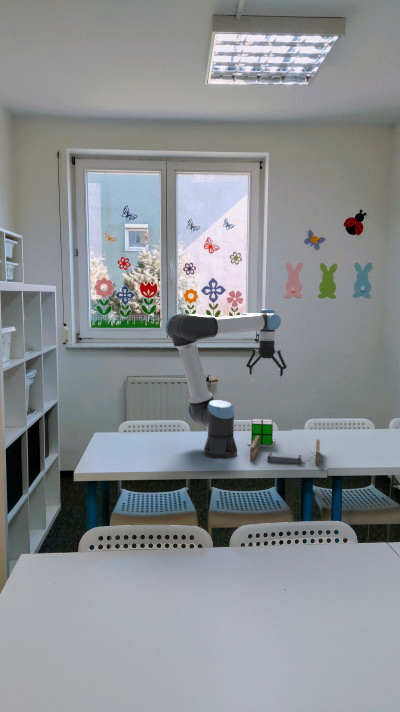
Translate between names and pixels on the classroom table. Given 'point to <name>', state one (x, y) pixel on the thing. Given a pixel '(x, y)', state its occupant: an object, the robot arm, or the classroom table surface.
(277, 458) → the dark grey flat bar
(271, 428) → the puzzle cube
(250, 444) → the mat
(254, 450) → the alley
